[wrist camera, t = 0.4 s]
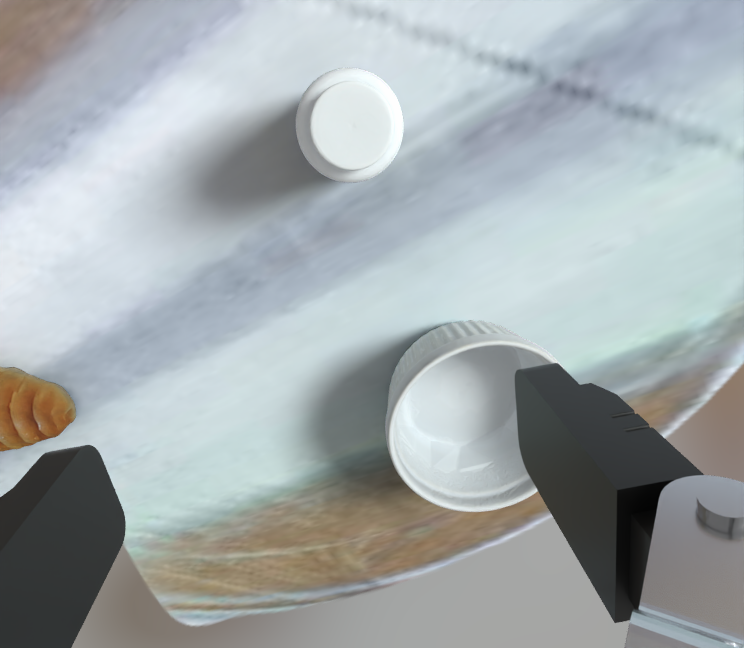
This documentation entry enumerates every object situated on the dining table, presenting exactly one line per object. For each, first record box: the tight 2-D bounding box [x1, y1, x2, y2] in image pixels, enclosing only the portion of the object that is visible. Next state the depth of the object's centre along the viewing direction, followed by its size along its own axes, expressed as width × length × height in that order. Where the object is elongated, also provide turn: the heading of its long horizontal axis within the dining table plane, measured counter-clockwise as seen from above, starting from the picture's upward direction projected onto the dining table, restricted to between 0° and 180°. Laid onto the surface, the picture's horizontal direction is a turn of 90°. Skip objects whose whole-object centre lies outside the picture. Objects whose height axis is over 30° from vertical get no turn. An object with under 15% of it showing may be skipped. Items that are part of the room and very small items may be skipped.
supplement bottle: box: [296, 68, 404, 183], centre depth 29 cm, size 6×6×10 cm
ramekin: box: [385, 320, 567, 512], centre depth 38 cm, size 13×13×7 cm
